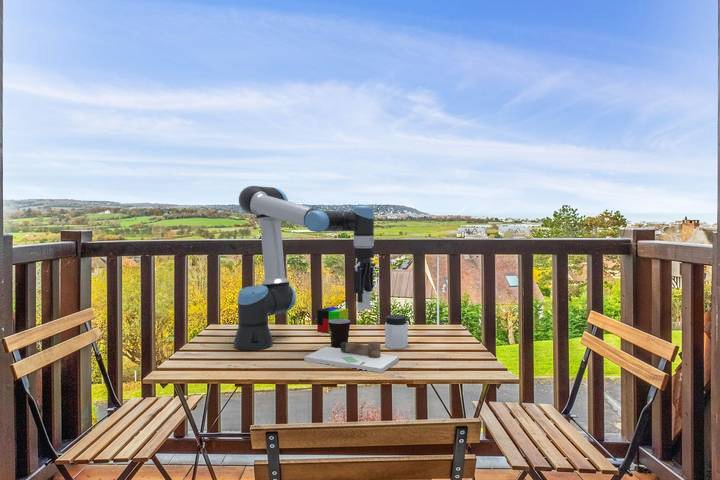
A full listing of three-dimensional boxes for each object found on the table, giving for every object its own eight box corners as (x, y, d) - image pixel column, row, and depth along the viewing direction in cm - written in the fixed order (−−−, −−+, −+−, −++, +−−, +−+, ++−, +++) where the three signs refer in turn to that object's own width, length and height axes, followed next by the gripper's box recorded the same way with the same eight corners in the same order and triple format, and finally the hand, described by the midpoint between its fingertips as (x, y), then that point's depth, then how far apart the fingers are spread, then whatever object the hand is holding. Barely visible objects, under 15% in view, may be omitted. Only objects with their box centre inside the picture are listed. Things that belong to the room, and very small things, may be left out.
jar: (406, 343, 184) (406, 314, 184) (408, 349, 176) (408, 318, 176) (384, 343, 184) (384, 314, 184) (385, 349, 176) (385, 318, 176)
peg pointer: (339, 352, 165) (339, 340, 165) (345, 349, 169) (345, 337, 169) (377, 357, 158) (377, 345, 158) (382, 354, 162) (382, 342, 162)
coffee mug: (347, 349, 176) (347, 323, 176) (326, 348, 178) (326, 323, 177) (353, 342, 187) (353, 318, 187) (333, 341, 189) (333, 317, 189)
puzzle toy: (331, 327, 214) (331, 306, 214) (348, 330, 208) (348, 309, 208) (317, 331, 206) (317, 309, 206) (334, 334, 200) (334, 312, 200)
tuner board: (304, 361, 161) (304, 356, 161) (326, 350, 174) (326, 346, 174) (381, 373, 148) (381, 368, 148) (398, 360, 161) (398, 356, 161)
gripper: (362, 248, 159) (362, 314, 160) (382, 246, 175) (382, 306, 175) (343, 248, 163) (344, 312, 163) (364, 246, 178) (364, 305, 179)
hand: (363, 309), depth 169 cm, fingers open, 4 cm apart
